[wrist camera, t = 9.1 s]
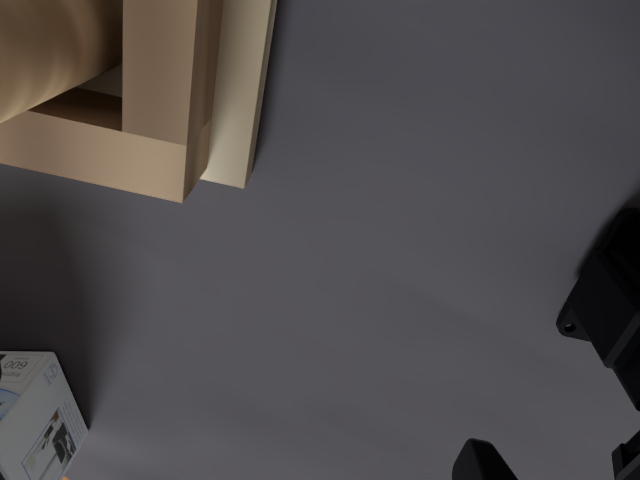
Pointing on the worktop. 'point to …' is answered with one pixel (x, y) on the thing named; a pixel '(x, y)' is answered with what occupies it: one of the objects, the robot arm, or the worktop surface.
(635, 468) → the robot arm
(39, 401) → the light bulb box
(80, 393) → the worktop surface
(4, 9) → the peg
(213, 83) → the awning socket
